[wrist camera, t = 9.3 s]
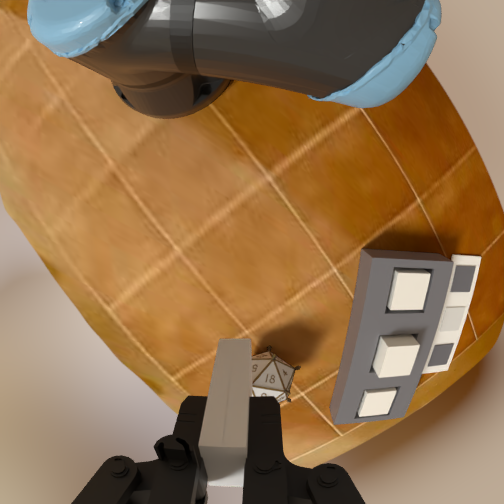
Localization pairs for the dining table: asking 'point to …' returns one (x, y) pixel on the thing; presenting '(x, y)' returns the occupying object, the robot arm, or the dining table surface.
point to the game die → (271, 376)
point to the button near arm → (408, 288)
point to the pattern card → (453, 312)
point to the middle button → (395, 355)
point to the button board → (386, 331)
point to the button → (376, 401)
